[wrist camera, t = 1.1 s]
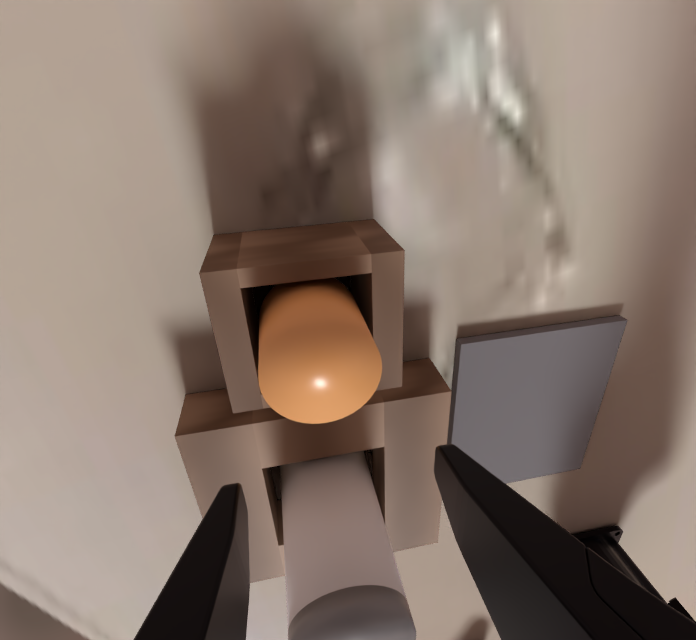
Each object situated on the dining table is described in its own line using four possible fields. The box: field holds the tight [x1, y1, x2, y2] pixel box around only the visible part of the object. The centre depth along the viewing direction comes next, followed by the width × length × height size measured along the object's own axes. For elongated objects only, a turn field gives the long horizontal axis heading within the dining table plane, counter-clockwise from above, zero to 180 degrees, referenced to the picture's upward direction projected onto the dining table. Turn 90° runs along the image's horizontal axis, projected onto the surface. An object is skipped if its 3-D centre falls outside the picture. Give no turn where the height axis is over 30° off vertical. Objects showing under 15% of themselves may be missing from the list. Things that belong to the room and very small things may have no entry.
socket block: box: [175, 219, 452, 583], centre depth 20 cm, size 13×20×4 cm, turn 2°
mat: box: [447, 315, 627, 484], centre depth 25 cm, size 10×12×1 cm
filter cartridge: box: [280, 451, 416, 640], centre depth 20 cm, size 5×5×10 cm
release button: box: [258, 278, 382, 424], centre depth 15 cm, size 4×4×4 cm
